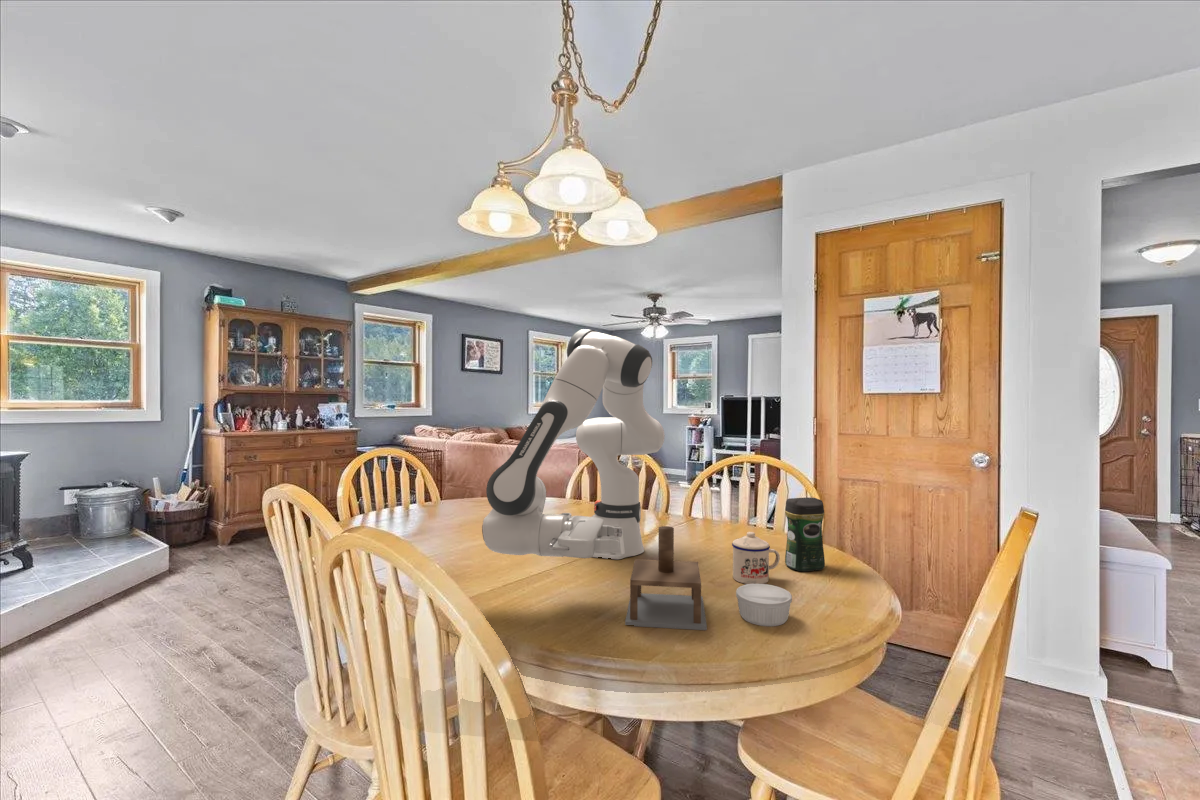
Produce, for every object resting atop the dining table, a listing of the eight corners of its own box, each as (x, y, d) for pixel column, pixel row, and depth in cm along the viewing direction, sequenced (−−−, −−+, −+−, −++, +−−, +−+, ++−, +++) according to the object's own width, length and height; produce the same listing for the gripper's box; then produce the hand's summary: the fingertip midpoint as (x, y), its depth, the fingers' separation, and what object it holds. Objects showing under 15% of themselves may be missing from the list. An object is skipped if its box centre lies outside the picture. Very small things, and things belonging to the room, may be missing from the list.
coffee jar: (812, 562, 153) (813, 494, 152) (829, 571, 145) (830, 500, 144) (779, 563, 151) (780, 495, 151) (795, 573, 143) (795, 501, 143)
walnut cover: (630, 619, 112) (630, 535, 112) (635, 594, 126) (635, 519, 126) (700, 623, 110) (701, 537, 110) (697, 597, 124) (698, 521, 124)
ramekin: (759, 633, 108) (759, 606, 108) (724, 612, 118) (724, 587, 118) (804, 623, 112) (804, 597, 112) (766, 604, 123) (766, 580, 123)
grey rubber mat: (625, 625, 111) (625, 621, 111) (631, 596, 127) (631, 592, 127) (706, 630, 109) (706, 626, 109) (702, 599, 125) (702, 596, 125)
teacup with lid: (739, 586, 134) (740, 537, 133) (726, 573, 143) (726, 528, 142) (787, 584, 135) (787, 536, 135) (771, 572, 144) (771, 527, 144)
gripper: (546, 532, 110) (615, 535, 108) (565, 511, 130) (624, 512, 129) (546, 564, 110) (615, 567, 109) (565, 537, 131) (624, 540, 129)
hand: (620, 537), depth 119 cm, fingers open, 8 cm apart
